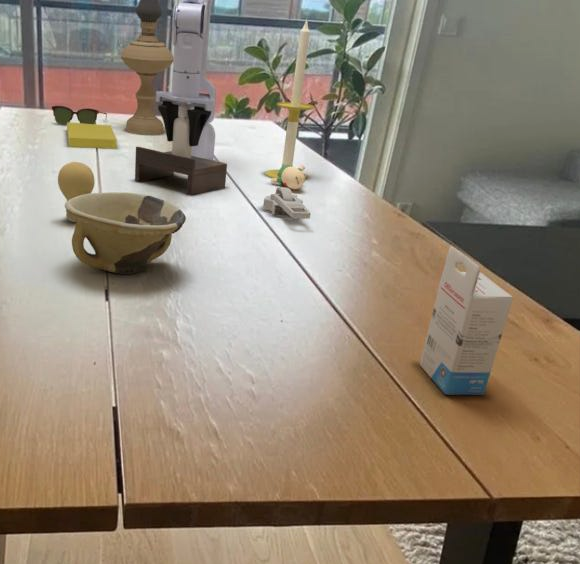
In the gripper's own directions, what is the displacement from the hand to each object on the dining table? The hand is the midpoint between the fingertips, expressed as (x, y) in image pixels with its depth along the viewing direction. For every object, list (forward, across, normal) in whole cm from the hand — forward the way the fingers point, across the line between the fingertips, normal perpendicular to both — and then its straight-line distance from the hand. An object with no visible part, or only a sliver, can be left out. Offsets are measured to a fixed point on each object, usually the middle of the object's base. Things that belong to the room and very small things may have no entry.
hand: (182, 143), depth 164 cm
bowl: (+9, +32, -52) cm, 62 cm away
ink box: (+9, +85, -52) cm, 100 cm away
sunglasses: (+8, -70, +38) cm, 80 cm away
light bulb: (+9, +8, -39) cm, 41 cm away
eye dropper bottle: (+4, 0, 0) cm, 4 cm away
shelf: (+8, 0, 0) cm, 8 cm away
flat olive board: (+8, -49, +21) cm, 54 cm away
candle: (+8, +9, +29) cm, 32 cm away
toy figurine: (+9, +16, +19) cm, 26 cm away
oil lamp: (+8, -50, +44) cm, 67 cm away
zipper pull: (+9, +31, -4) cm, 32 cm away
